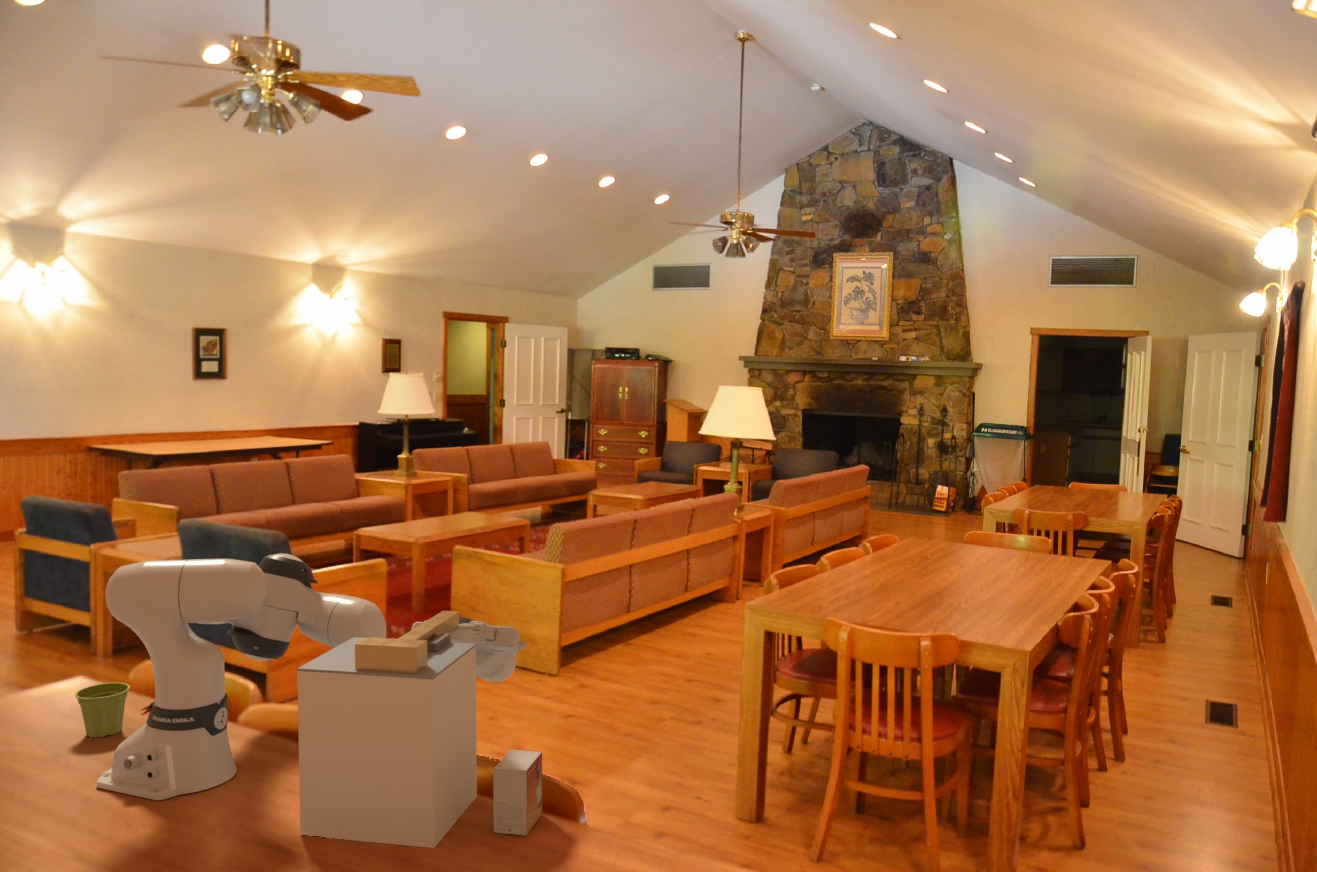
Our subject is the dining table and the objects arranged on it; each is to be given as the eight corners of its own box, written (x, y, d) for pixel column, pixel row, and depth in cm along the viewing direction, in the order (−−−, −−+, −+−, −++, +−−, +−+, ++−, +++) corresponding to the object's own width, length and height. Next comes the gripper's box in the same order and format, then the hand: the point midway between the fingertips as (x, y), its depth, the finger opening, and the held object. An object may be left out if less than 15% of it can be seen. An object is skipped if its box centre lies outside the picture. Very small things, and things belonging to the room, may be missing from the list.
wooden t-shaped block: (355, 669, 146) (354, 644, 146) (424, 626, 172) (424, 604, 171) (416, 673, 144) (416, 647, 144) (477, 628, 170) (477, 606, 170)
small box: (526, 837, 148) (526, 771, 147) (492, 833, 149) (492, 767, 149) (543, 814, 156) (543, 751, 155) (510, 810, 157) (510, 748, 156)
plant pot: (113, 741, 185) (112, 698, 185) (65, 741, 185) (64, 697, 185) (140, 724, 194) (139, 682, 194) (94, 723, 195) (93, 682, 194)
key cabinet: (300, 835, 148) (297, 658, 146) (356, 786, 166) (353, 628, 164) (434, 847, 144) (432, 666, 143) (476, 796, 162) (475, 634, 160)
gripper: (526, 665, 179) (505, 646, 167) (423, 659, 183) (395, 640, 171) (531, 632, 182) (511, 611, 170) (430, 626, 185) (403, 606, 173)
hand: (452, 626), depth 170 cm, fingers open, 8 cm apart
